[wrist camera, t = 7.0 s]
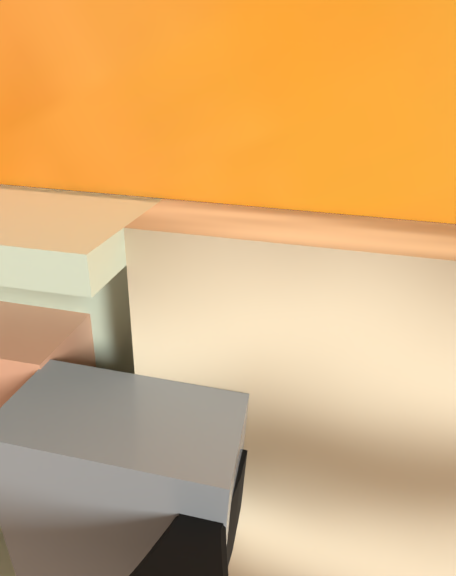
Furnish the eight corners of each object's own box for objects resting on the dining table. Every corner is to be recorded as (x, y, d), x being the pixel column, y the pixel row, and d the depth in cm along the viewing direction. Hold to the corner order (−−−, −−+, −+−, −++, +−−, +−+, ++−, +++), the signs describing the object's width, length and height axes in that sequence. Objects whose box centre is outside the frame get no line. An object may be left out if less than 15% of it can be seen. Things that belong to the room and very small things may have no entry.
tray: (172, 506, 15) (132, 629, 12) (-14, 469, 16) (-101, 572, 13) (163, 198, 10) (86, 254, 7) (-110, 174, 11) (-303, 211, 8)
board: (554, 582, 14) (602, 677, 11) (172, 506, 15) (150, 575, 13) (789, 253, 8) (967, 311, 6) (163, 198, 10) (123, 227, 8)
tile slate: (234, 530, 11) (216, 635, 9) (71, 493, 12) (17, 584, 10) (249, 393, 9) (229, 489, 7) (48, 359, 10) (-28, 436, 8)
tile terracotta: (104, 438, 14) (66, 503, 12) (-26, 414, 14) (-85, 471, 12) (90, 313, 12) (39, 365, 9) (-63, 291, 12) (-144, 335, 10)
